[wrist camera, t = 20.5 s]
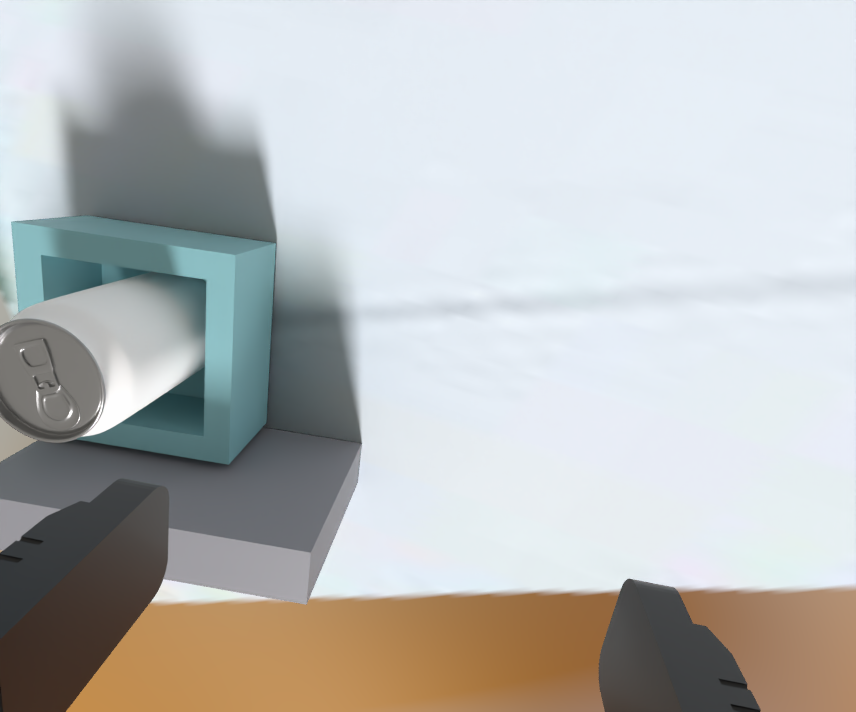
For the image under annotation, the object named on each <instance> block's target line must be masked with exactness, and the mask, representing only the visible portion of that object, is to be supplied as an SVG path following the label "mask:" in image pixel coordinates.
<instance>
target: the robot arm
mask: <svg viewBox="0 0 856 712" xmlns="http://www.w3.org/2000/svg"><path fill="white" fill-rule="evenodd" d="M168 534H169V492H168V489H167V488H166V487H165V486H160V485H155V484H150V483H145V482H140V481H135V480H130V479H125V478H121V479H118V480H116V481H115V482H113V483H112V484H111V485H110V486H109V487H108V488H106V489H105V490H104V491H103V492H102V493H100V494H99V495H98V496H97V497H96V498H94V499H93V500H92V501H91V502H90V503H89V502H84V501H79V502H77V503H75V504H73V505H70V506H68V507H66V508H64V509H61V510H59V511H57V512H55V513H52V514H50V515H48V516H46V517H45V518H44V519H42V520H41V521H40V522H39V523H37V524H36V525H35V526H34V527H32V528H31V529H30V530H29V531H27V532H26V533H25V534H23V535H22V536H21V539H20V541H15V542H13V543H12V544H11V545H10V546H8V547H7V548H6V549H4V550H3V551H2V552H1V553H0V712H66V710H67V709H68V708H69V707H70V705H71V704H72V703H73V701H74V700H75V699H76V697H77V696H78V695H79V694H80V692H81V691H82V690H83V688H84V687H85V686H86V685H87V683H88V682H89V681H90V679H91V678H92V677H93V675H94V674H95V673H96V672H97V670H98V669H99V668H100V666H101V665H102V664H103V663H104V661H105V660H106V659H107V657H108V656H109V655H110V654H111V652H112V651H113V650H114V648H115V647H116V646H117V644H118V643H119V642H120V641H121V639H122V638H123V637H124V635H125V634H126V633H127V632H128V630H129V629H130V628H131V626H132V625H133V624H134V623H135V621H136V620H137V619H138V617H139V616H140V615H141V613H142V612H143V611H144V609H145V608H146V607H147V606H148V604H149V603H150V602H151V601H152V599H153V598H154V596H155V595H156V593H157V592H158V590H159V588H160V586H161V583H162V581H163V578H164V575H165V572H166V568H167V562H168ZM599 684H600V692H601V696H602V701H603V705H604V709H605V712H760V708H759V706H758V704H757V702H756V700H755V698H754V696H753V694H752V692H751V691H750V690H748V689H747V683H746V681H745V679H744V677H743V675H742V673H741V671H740V669H739V667H738V665H737V663H736V661H735V659H734V657H733V655H732V654H731V653H730V652H729V651H728V649H726V647H725V646H724V645H723V644H722V643H721V642H720V641H719V640H718V639H717V638H716V636H715V635H714V634H713V633H712V632H711V631H710V630H709V629H708V628H707V627H706V626H702V625H697V624H693V623H692V620H691V618H690V616H689V614H688V612H687V610H686V607H685V605H684V603H683V601H682V599H681V597H680V595H679V593H678V591H677V590H676V589H675V588H673V587H669V586H664V585H658V584H653V583H648V582H643V581H638V580H633V579H627V580H626V581H625V582H624V584H623V586H622V588H621V591H620V594H619V597H618V600H617V603H616V606H615V609H614V612H613V615H612V618H611V622H610V625H609V627H608V631H607V634H606V637H605V640H604V643H603V646H602V649H601V654H600V660H599Z"/></svg>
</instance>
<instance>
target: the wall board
mask: <svg viewBox="0 0 856 712" xmlns="http://www.w3.org/2000/svg"><path fill="white" fill-rule="evenodd" d="M361 446H362V443H356V442H350V441H344V440H338V439H331V438H325V437H319V436H313V435H307V434H301V433H295V432H289V431H282V430H276V429H270V428H264V427H262V428H261V429H260V431H259V432H258V433H257V434H256V435H255V436H254V437H253V438H252V439H251V441H250V442H249V443H248V444H247V445H246V446H245V447H244V448H243V449H242V451H241V452H240V453H239V454H238V455H237V456H236V457H235V458H234V459H233V461H232V462H231V463H230V464H229V465H227V464H221V463H215V462H209V461H203V460H197V459H191V458H186V457H180V456H174V455H168V454H162V453H156V452H150V451H144V450H138V449H132V448H126V447H120V446H114V445H108V444H102V443H96V442H90V441H84V440H78V439H75V440H72V441H68V442H61V443H51V442H44V441H39V440H38V441H36V442H34V443H32V444H31V445H29V446H28V447H25V448H24V449H22V450H20V451H19V452H17V453H15V454H13V455H12V456H10V457H8V458H7V459H5V460H3V461H1V462H0V550H4V549H6V548H7V547H8V546H10V545H11V544H12V543H13V542H15V541H20V539H21V536H22V535H23V534H25V533H26V532H27V531H29V530H30V529H31V528H32V527H34V526H35V525H36V524H37V523H39V522H40V521H41V520H42V519H44V518H45V517H46V516H48V515H50V514H52V513H55V512H57V511H59V510H61V509H64V508H66V507H68V506H70V505H73V504H75V503H77V502H79V501H84V502H89V503H90V502H91V501H92V500H93V499H94V498H96V497H97V496H98V495H99V494H100V493H102V492H103V491H104V490H105V489H106V488H108V487H109V486H110V485H111V484H112V483H113V482H115V481H116V480H118V479H121V478H125V479H130V480H135V481H140V482H145V483H150V484H155V485H160V486H165V487H166V488H167V489H168V492H169V534H168V562H167V568H166V572H165V575H164V578H163V579H166V580H172V581H178V582H183V583H189V584H194V585H200V586H206V587H211V588H217V589H223V590H228V591H234V592H239V593H245V594H251V595H256V596H262V597H267V598H273V599H279V600H284V601H290V602H296V603H301V604H307V602H308V600H309V597H310V595H311V592H312V590H313V588H314V585H315V583H316V580H317V578H318V576H319V573H320V571H321V569H322V566H323V564H324V561H325V559H326V557H327V554H328V552H329V550H330V547H331V545H332V542H333V540H334V538H335V535H336V533H337V530H338V528H339V526H340V523H341V521H342V519H343V516H344V514H345V511H346V509H347V507H348V504H349V502H350V500H351V497H352V495H353V492H354V490H355V488H356V485H357V483H358V474H359V465H360V455H361Z"/></svg>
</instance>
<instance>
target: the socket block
mask: <svg viewBox="0 0 856 712" xmlns="http://www.w3.org/2000/svg"><path fill="white" fill-rule="evenodd" d="M11 225H12V237H13V249H14V261H15V274H16V286H17V298H18V310H19V312H20V311H22V310H24V309H25V308H27V307H30V306H32V305H34V304H37V303H40V302H43V301H47V300H50V299H54V298H57V297H61V296H64V295H68V294H71V293H75V292H79V291H82V290H86V289H90V288H93V287H97V286H101V285H104V284H108V283H112V282H115V281H119V280H123V279H127V278H130V277H134V276H138V275H142V274H146V273H150V272H158V273H165V274H172V275H178V276H185V277H192V278H198V279H202V280H204V281H205V282H206V334H205V367H204V368H202V369H201V370H199V371H198V372H196V373H195V374H193V375H192V376H190V377H189V378H187V379H186V380H184V381H183V382H181V383H180V384H178V385H177V386H175V387H174V388H172V389H171V390H169V391H168V392H166V393H165V394H163V395H162V396H160V397H159V398H157V399H156V400H154V401H153V402H151V403H150V404H148V405H147V406H145V407H144V408H142V409H141V410H139V411H138V412H136V413H135V414H133V415H131V416H130V417H128V418H127V419H125V420H124V421H122V422H121V423H119V424H117V425H116V426H114V427H112V428H110V429H108V430H106V431H104V432H102V433H99V434H95V435H91V436H83V437H80V438H77V439H78V440H84V441H90V442H96V443H102V444H108V445H114V446H120V447H126V448H132V449H138V450H144V451H150V452H156V453H162V454H168V455H174V456H180V457H186V458H191V459H197V460H203V461H209V462H215V463H221V464H227V465H229V464H230V463H231V462H232V461H233V459H234V458H235V457H236V456H237V455H238V454H239V453H240V452H241V451H242V449H243V448H244V447H245V446H246V445H247V444H248V443H249V442H250V441H251V439H252V438H253V437H254V436H255V435H256V434H257V433H258V432H259V431H260V429H261V428H262V427H263V426H264V425H265V424H266V421H267V402H268V383H269V364H270V345H271V326H272V307H273V289H274V270H275V251H276V243H272V242H265V241H258V240H251V239H244V238H238V237H231V236H224V235H217V234H210V233H204V232H197V231H190V230H183V229H176V228H170V227H163V226H156V225H149V224H142V223H135V222H129V221H122V220H115V219H108V218H101V217H95V216H88V215H85V216H73V217H62V218H50V219H38V220H26V221H14V222H11Z"/></svg>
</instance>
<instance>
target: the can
mask: <svg viewBox="0 0 856 712" xmlns="http://www.w3.org/2000/svg"><path fill="white" fill-rule="evenodd" d="M205 334H206V282H205V281H204V280H202V279H198V278H192V277H185V276H178V275H172V274H165V273H158V272H150V273H146V274H142V275H138V276H134V277H130V278H127V279H123V280H119V281H115V282H112V283H108V284H104V285H101V286H97V287H93V288H90V289H86V290H82V291H79V292H75V293H71V294H68V295H64V296H61V297H57V298H54V299H50V300H47V301H43V302H40V303H37V304H34V305H32V306H30V307H27V308H25V309H24V310H22V311H20V312H19V313H18V314H16V315H15V316H14V317H13V318H12V319H11V320H10V321H9V322H7V323H5V324H3V325H1V326H0V417H1V418H2V419H3V420H4V421H5V422H6V423H7V424H9V425H10V426H11V427H12V428H14V429H15V430H17V431H18V432H20V433H22V434H24V435H26V436H28V437H30V438H33V439H36V440H39V441H44V442H51V443H61V442H68V441H72V440H75V439H77V438H80V437H83V436H91V435H95V434H99V433H102V432H104V431H106V430H108V429H110V428H112V427H114V426H116V425H117V424H119V423H121V422H122V421H124V420H125V419H127V418H128V417H130V416H131V415H133V414H135V413H136V412H138V411H139V410H141V409H142V408H144V407H145V406H147V405H148V404H150V403H151V402H153V401H154V400H156V399H157V398H159V397H160V396H162V395H163V394H165V393H166V392H168V391H169V390H171V389H172V388H174V387H175V386H177V385H178V384H180V383H181V382H183V381H184V380H186V379H187V378H189V377H190V376H192V375H193V374H195V373H196V372H198V371H199V370H201V369H202V368H204V367H205Z"/></svg>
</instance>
